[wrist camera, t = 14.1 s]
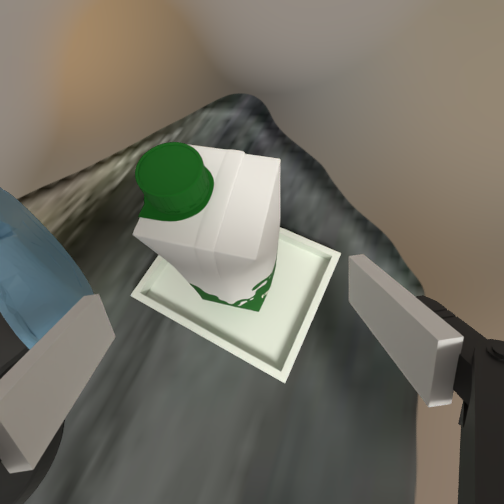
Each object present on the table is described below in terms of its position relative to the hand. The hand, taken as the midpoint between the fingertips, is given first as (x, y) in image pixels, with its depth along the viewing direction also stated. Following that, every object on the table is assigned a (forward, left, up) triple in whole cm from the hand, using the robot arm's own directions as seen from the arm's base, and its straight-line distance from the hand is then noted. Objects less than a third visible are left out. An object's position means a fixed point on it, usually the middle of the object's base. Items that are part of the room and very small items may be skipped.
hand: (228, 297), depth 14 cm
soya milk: (-4, +5, -18) cm, 20 cm away
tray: (-4, +5, -19) cm, 20 cm away
